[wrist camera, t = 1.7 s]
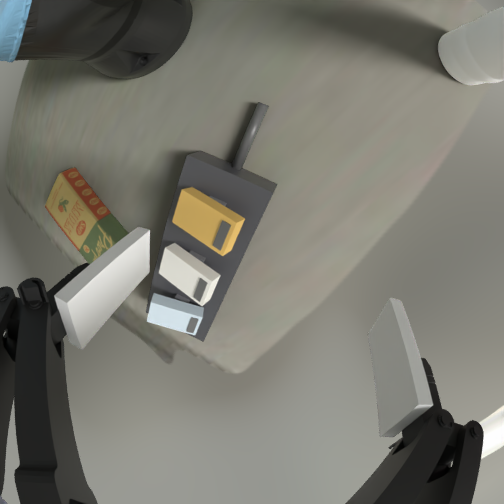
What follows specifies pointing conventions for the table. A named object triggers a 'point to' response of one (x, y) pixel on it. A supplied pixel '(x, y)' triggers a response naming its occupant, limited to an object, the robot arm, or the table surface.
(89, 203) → the carton
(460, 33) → the water bottle
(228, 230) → the rocker amber
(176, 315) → the rocker blue
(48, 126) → the table surface
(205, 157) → the power strip
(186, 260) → the rocker white
